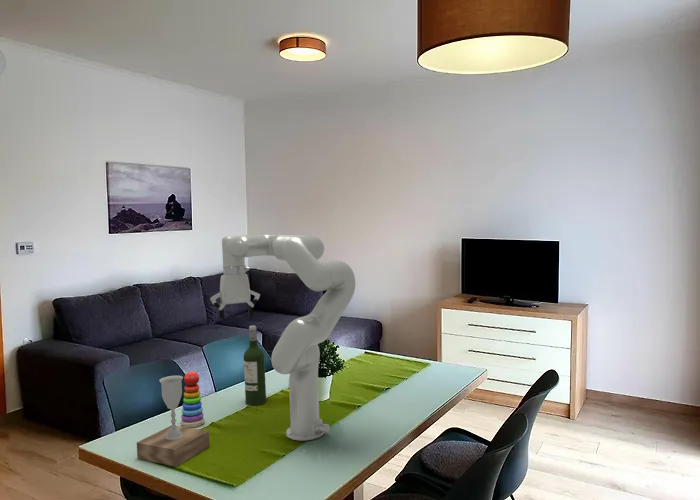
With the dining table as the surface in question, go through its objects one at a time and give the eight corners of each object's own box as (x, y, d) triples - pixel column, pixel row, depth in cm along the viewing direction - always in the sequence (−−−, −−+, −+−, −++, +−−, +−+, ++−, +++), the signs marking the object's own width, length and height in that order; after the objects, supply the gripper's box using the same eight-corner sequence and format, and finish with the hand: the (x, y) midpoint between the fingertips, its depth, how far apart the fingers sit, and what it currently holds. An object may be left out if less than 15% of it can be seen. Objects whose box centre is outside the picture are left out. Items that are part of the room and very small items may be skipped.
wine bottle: (241, 404, 211) (238, 327, 209) (252, 398, 218) (249, 323, 217) (259, 406, 208) (255, 328, 206) (270, 400, 215) (266, 324, 214)
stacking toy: (183, 430, 187) (180, 376, 186) (179, 422, 194) (176, 370, 193) (206, 425, 190) (204, 372, 189) (201, 418, 197) (199, 367, 196)
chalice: (178, 441, 164) (175, 382, 163) (157, 440, 165) (154, 382, 164) (190, 432, 171) (187, 375, 170) (170, 431, 173) (167, 375, 172)
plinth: (209, 446, 172) (208, 431, 172) (175, 466, 159) (175, 449, 158) (173, 440, 178) (172, 425, 178) (137, 458, 165) (136, 442, 165)
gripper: (256, 268, 199) (258, 315, 200) (207, 272, 192) (210, 320, 193) (260, 270, 192) (263, 318, 193) (210, 273, 185) (213, 323, 186)
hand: (236, 319), depth 193 cm, fingers open, 9 cm apart
